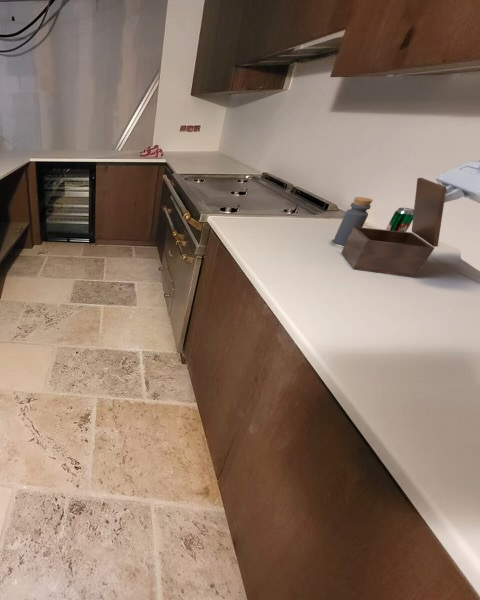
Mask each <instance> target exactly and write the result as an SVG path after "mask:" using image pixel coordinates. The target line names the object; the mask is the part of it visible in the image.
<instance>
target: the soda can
mask: <svg viewBox="0 0 480 600" xmlns="http://www.w3.org/2000/svg"><path fill="white" fill-rule="evenodd" d="M413 214H414V208H409V207H398V209H396V210H395V211H394V213H393V215H392V217H391V218H390V219H389V223H388V224H387V226H386V228H385V230H391V231H401V232H408V229H409V228H410V227H411V225H412V223H413Z"/></svg>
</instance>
